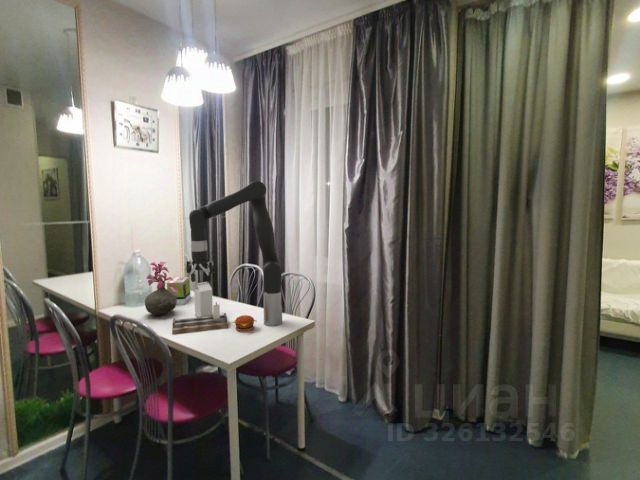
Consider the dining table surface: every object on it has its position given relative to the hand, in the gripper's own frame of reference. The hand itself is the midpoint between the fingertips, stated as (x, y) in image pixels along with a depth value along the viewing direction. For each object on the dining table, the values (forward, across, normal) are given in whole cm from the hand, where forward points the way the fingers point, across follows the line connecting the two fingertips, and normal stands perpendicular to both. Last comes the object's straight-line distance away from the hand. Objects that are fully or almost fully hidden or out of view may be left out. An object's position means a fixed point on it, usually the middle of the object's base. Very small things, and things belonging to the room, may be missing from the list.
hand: (201, 281), depth 164 cm
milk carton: (+24, +12, -18) cm, 33 cm away
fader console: (+24, +4, -3) cm, 25 cm away
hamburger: (+25, -20, -6) cm, 32 cm away
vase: (+24, +35, -14) cm, 44 cm away
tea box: (+24, +41, -37) cm, 60 cm away
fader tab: (+22, -3, -8) cm, 24 cm away
